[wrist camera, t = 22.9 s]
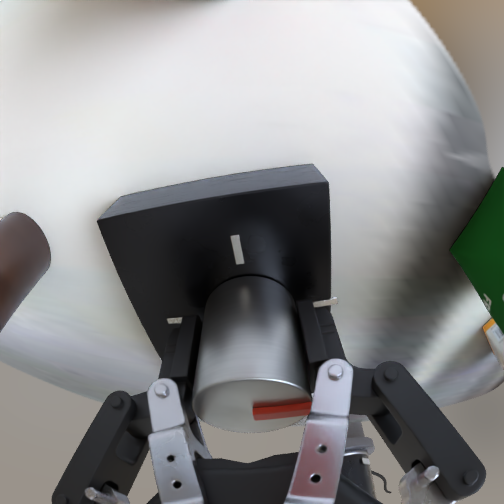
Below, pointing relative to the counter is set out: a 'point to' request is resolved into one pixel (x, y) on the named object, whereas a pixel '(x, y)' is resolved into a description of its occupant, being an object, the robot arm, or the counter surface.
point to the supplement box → (495, 340)
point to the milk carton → (486, 250)
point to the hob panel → (220, 241)
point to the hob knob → (251, 359)
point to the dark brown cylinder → (20, 261)
